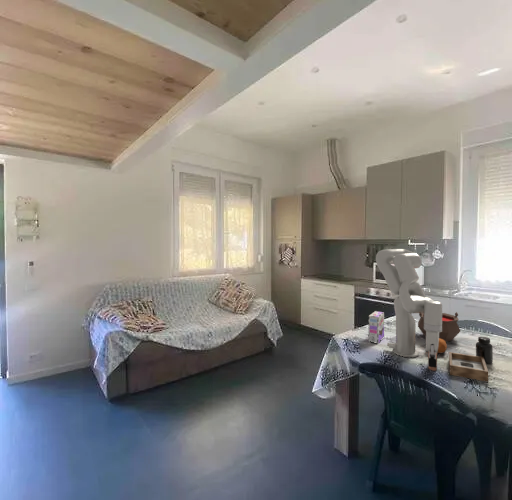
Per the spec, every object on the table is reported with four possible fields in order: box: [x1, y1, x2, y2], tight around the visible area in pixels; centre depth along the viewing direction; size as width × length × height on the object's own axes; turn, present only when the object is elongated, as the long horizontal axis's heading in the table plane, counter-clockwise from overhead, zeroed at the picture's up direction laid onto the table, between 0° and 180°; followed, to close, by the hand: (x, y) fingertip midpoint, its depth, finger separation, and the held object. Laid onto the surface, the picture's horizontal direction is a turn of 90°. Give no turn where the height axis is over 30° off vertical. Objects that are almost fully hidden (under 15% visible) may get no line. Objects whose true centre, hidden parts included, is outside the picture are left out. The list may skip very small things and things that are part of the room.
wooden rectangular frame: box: [448, 351, 489, 382], centre depth 143 cm, size 14×18×4 cm
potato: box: [437, 338, 448, 354], centre depth 165 cm, size 9×11×8 cm
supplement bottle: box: [475, 336, 494, 365], centre depth 152 cm, size 7×7×12 cm
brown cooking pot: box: [417, 311, 461, 343], centre depth 187 cm, size 24×24×16 cm
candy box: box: [367, 310, 385, 344], centre depth 186 cm, size 14×6×16 cm, turn 143°
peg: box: [427, 350, 438, 372], centre depth 145 cm, size 4×4×11 cm
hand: (432, 363), depth 145 cm, fingers open, 5 cm apart
